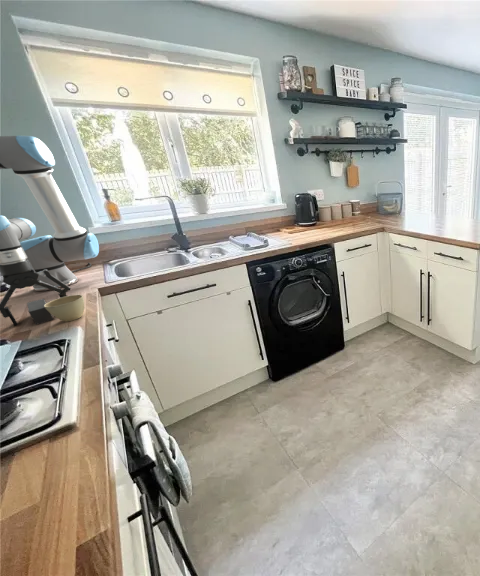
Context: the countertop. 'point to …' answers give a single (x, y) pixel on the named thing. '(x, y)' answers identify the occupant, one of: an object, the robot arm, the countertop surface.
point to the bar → (39, 311)
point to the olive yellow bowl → (66, 307)
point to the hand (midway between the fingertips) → (42, 316)
